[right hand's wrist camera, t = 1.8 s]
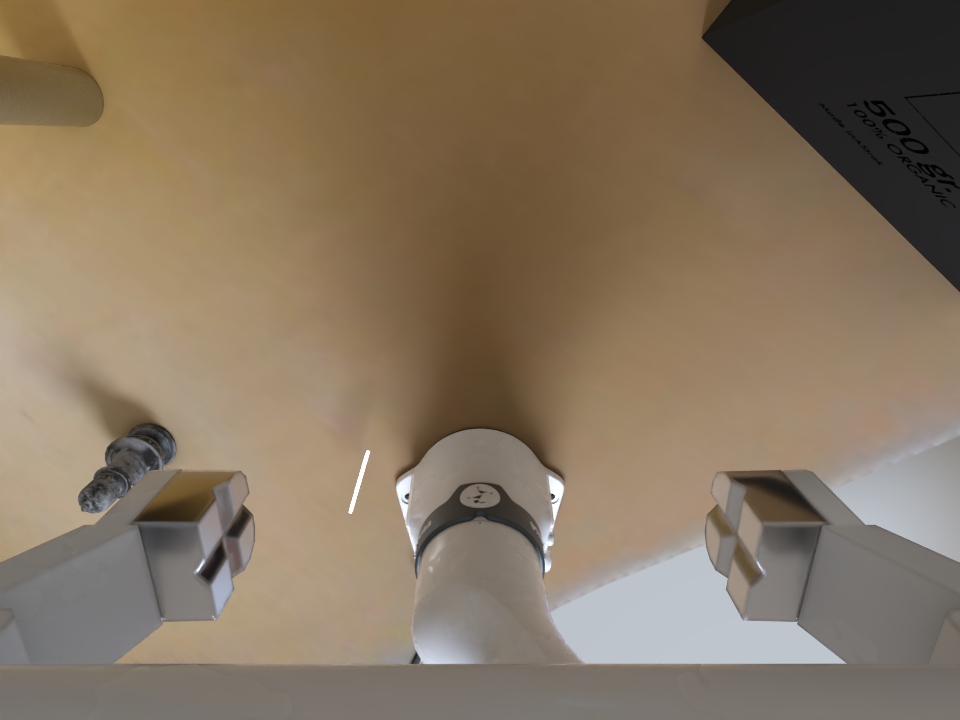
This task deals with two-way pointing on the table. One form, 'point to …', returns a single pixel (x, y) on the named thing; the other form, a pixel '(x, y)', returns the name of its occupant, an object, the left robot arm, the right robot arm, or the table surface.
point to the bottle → (47, 94)
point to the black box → (865, 99)
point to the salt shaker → (127, 465)
